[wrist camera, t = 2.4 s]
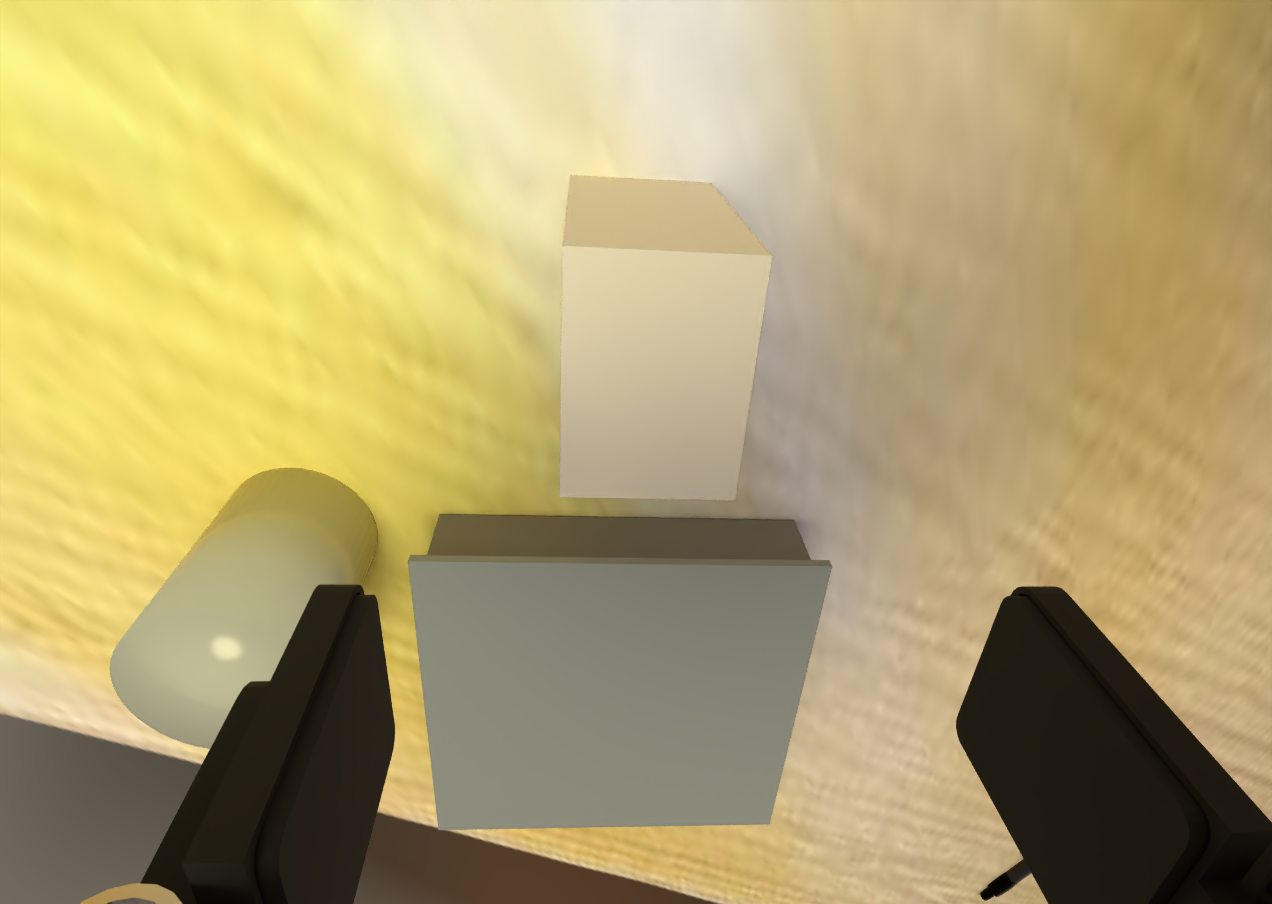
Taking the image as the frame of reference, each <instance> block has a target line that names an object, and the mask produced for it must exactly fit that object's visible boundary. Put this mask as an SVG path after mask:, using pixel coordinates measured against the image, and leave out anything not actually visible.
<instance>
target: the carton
mask: <svg viewBox="0 0 1272 904" xmlns="http://www.w3.org/2000/svg"><path fill="white" fill-rule="evenodd" d="M771 261H772V255H771V254H770V253H769V251H768V250H767V249H766V248H765V247H764V245H763V244H762V243H761V242H760V241H759V239H758V238H757V237H756V236H755V235H754V234H753V232H752V231H751V230H750V229H749V228H748V226H747V225H746V224H745V223H744V222H743V221H742V219H741V218H740V217H739V216H738V215H737V213H736V212H735V211H734V210H733V209H732V207H731V206H730V205H729V204H728V203H727V202H726V200H725V199H724V198H723V197H722V196H721V194H720V193H719V192H718V191H717V190H716V188H715V187H714V186H713V185H712V184H711V183H705V182H687V181H669V180H650V179H632V178H614V177H596V176H578V175H570V183H569V192H568V201H567V211H566V220H565V229H564V238H563V251H562V333H561V414H560V495H559V497H579V498H631V499H683V500H735V497H736V491H737V484H738V478H739V471H740V464H741V458H742V451H743V445H744V438H745V432H746V425H747V418H748V412H749V405H750V399H751V392H752V386H753V379H754V373H755V366H756V359H757V353H758V346H759V340H760V333H761V327H762V320H763V313H764V307H765V300H766V294H767V287H768V281H769V274H770V267H771Z"/></svg>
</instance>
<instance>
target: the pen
mask: <svg viewBox="0 0 1272 904" xmlns="http://www.w3.org/2000/svg"><path fill="white" fill-rule="evenodd" d="M1030 874H1031V871H1030V869H1029V867H1028V865H1027V864H1026V862H1025V860H1024V859H1023V860H1022V861H1021V862H1019V863H1018V864H1016V865H1015V866H1014V867H1012V868H1011V869H1010V870H1008V871H1007V872H1005V873H1004V874H1002V875H1001V876H999V877H998V878H996V879H995V880H994V881H992V882H991V883H990V884H989V885H988V887H987V888H986V889H985V890H983V891H982V892H981V897H982V899H983V900H985V901H987V900H989V899H991V898H992V897H994V896H996V897H999V896H1000V895H1002V894H1004V893H1006V892H1007V891H1009V890H1010V889H1011V888H1013V887H1014V886H1015V885H1016V884H1017V883H1018V882H1020V881H1021V880H1023V879H1024V878H1025V877H1027V876H1028V875H1030Z"/></svg>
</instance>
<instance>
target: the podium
mask: <svg viewBox="0 0 1272 904" xmlns="http://www.w3.org/2000/svg"><path fill="white" fill-rule="evenodd" d="M408 565H409V574H410V582H411V591H412V600H413V609H414V618H415V626H416V635H417V644H418V653H419V662H420V670H421V679H422V688H423V697H424V705H425V714H426V723H427V732H428V741H429V749H430V758H431V767H432V776H433V785H434V793H435V802H436V811H437V820H438V829H439V830H467V829H525V828H583V827H641V826H699V825H757V824H770V820H771V816H772V812H773V808H774V804H775V800H776V795H777V791H778V787H779V783H780V779H781V775H782V771H783V767H784V762H785V758H786V754H787V750H788V746H789V742H790V738H791V734H792V729H793V725H794V721H795V717H796V713H797V709H798V705H799V700H800V696H801V692H802V688H803V684H804V680H805V676H806V672H807V667H808V663H809V659H810V655H811V651H812V647H813V643H814V639H815V634H816V630H817V626H818V622H819V618H820V614H821V610H822V606H823V601H824V597H825V593H826V589H827V585H828V581H829V577H830V572H831V568H832V566H831V563H830V561H829V560H811V559H810V557H809V554H808V552H807V550H806V547H805V545H804V543H803V540H802V538H801V536H800V533H799V531H798V529H797V526H796V524H795V522H794V520H745V519H687V518H629V517H571V516H513V515H455V514H440V515H439V518H438V522H437V525H436V528H435V531H434V535H433V538H432V541H431V545H430V548H429V551H428V554H427V555H410V557H409V560H408Z"/></svg>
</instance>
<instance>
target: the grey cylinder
mask: <svg viewBox="0 0 1272 904" xmlns="http://www.w3.org/2000/svg"><path fill="white" fill-rule="evenodd" d="M377 543H378V531H377V526H376V522H375V520H374V517H373V515H372V513H371V511H370V510H369V508H368V507H367V505H366V504H365V502H364V501H363V500H362V499H361V498H360V497H359V496H358V495H357V494H356V493H355V492H354V491H353V490H351V489H350V488H349V487H347V486H346V485H344V484H343V483H341V482H340V481H338V480H336V479H334V478H332V477H330V476H327V475H325V474H322V473H319V472H315V471H312V470H306V469H299V468H279V469H273V470H268V471H265V472H262V473H259V474H257V475H254V476H253V477H251V478H249V479H248V480H246V481H245V482H244V483H242V484H241V485H240V486H239V487H238V488H237V490H236V491H235V492H234V493H233V495H232V496H231V497H230V498H229V500H228V501H227V502H226V504H225V505H224V506H223V508H222V509H221V510H220V511H219V513H218V514H217V515H216V517H215V518H214V519H213V521H212V522H211V523H210V524H209V526H208V527H207V528H206V530H205V531H204V532H203V534H202V535H201V536H200V537H199V539H198V540H197V541H196V543H195V544H194V545H193V547H192V548H191V549H190V550H189V552H188V553H187V554H186V556H185V557H184V558H183V560H182V561H181V562H180V563H179V565H178V566H177V567H176V569H175V570H174V571H173V573H172V574H171V575H170V576H169V578H168V579H167V580H166V582H165V583H164V584H163V586H162V587H161V588H160V589H159V591H158V592H157V593H156V595H155V596H154V597H153V599H152V600H151V601H150V602H149V604H148V605H147V606H146V608H145V609H144V610H143V611H142V613H141V614H140V615H139V617H138V618H137V619H136V621H135V622H134V623H133V624H132V626H131V627H130V628H129V630H128V631H127V632H126V634H125V635H124V636H123V637H122V639H121V640H120V641H119V643H118V644H117V646H116V648H115V649H114V651H113V654H112V657H111V662H110V675H111V680H112V683H113V687H114V689H115V691H116V693H117V695H118V696H119V698H120V699H121V701H122V702H123V704H124V705H125V706H126V707H127V708H128V709H129V710H130V711H131V713H133V714H134V715H135V716H136V717H137V718H138V719H140V720H141V721H142V722H144V723H145V724H146V725H148V726H149V727H151V728H153V729H154V730H156V731H158V732H160V733H161V734H164V735H166V736H168V737H170V738H172V739H175V740H178V741H180V742H183V743H187V744H190V745H194V746H198V747H203V748H208V749H210V748H211V746H212V745H213V743H214V741H215V739H216V737H217V735H218V733H219V731H220V729H221V727H222V725H223V723H224V721H225V720H226V718H227V716H228V714H229V712H230V710H231V708H232V706H233V704H234V702H235V700H236V698H237V697H238V695H239V693H240V692H241V690H242V689H243V687H244V686H246V685H247V684H248V683H249V682H251V681H270V680H271V678H272V676H273V674H274V672H275V670H276V667H277V665H278V663H279V661H280V659H281V657H282V655H283V653H284V651H285V649H286V647H287V645H288V643H289V640H290V638H291V636H292V634H293V632H294V630H295V628H296V626H297V624H298V622H299V620H300V618H301V616H302V613H303V611H304V609H305V607H306V605H307V603H308V601H309V599H310V597H311V595H312V593H313V591H314V589H315V588H316V586H318V585H319V584H338V585H361V586H362V584H363V581H364V579H365V577H366V574H367V572H368V569H369V567H370V564H371V562H372V559H373V557H374V555H375V552H376V548H377Z"/></svg>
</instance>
